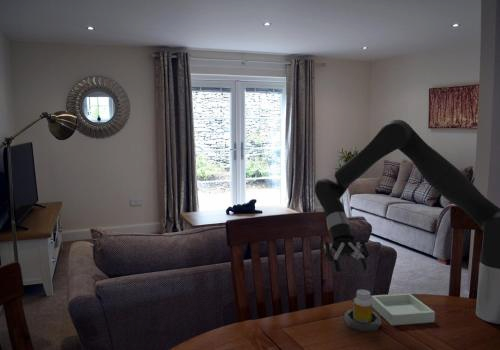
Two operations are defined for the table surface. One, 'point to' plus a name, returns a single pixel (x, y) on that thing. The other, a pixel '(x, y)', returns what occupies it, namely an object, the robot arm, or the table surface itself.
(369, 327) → the holder ring
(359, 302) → the supplement bottle
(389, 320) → the tray
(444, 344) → the table surface
